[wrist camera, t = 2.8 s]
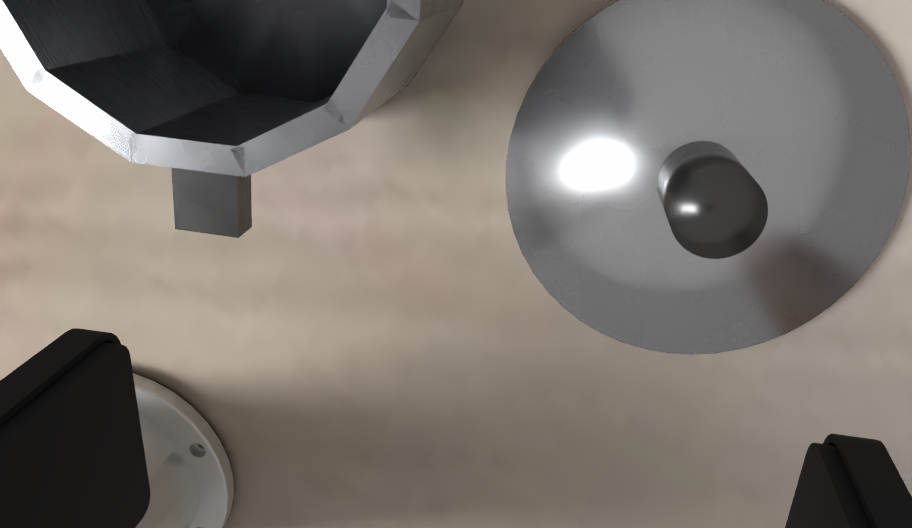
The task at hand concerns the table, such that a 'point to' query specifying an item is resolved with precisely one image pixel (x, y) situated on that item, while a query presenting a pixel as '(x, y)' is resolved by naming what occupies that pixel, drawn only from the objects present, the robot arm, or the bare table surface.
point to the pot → (217, 80)
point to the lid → (707, 169)
